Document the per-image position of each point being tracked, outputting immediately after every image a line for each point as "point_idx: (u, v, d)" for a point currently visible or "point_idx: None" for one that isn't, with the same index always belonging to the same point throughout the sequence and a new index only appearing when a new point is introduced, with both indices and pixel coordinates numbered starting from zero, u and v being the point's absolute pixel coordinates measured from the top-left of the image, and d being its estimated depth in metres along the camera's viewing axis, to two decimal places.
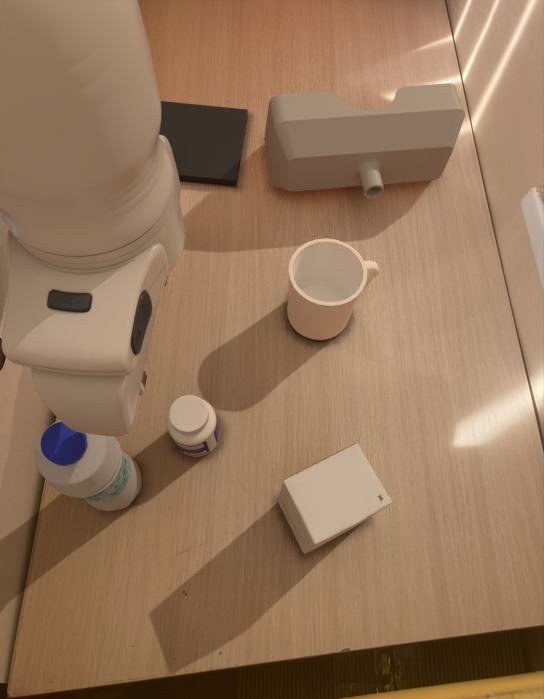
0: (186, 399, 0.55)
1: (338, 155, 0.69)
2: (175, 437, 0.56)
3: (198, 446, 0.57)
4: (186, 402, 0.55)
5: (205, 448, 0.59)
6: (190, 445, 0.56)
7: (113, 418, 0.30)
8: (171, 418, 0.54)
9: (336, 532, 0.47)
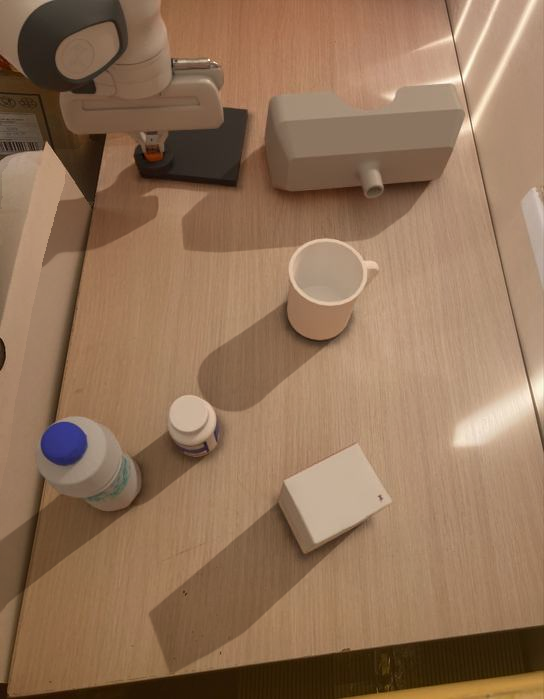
0: (186, 399, 0.55)
1: (338, 155, 0.69)
2: (175, 437, 0.56)
3: (198, 446, 0.57)
4: (186, 402, 0.55)
5: (205, 448, 0.59)
6: (190, 445, 0.56)
7: (61, 109, 0.66)
8: (171, 418, 0.54)
9: (336, 532, 0.47)
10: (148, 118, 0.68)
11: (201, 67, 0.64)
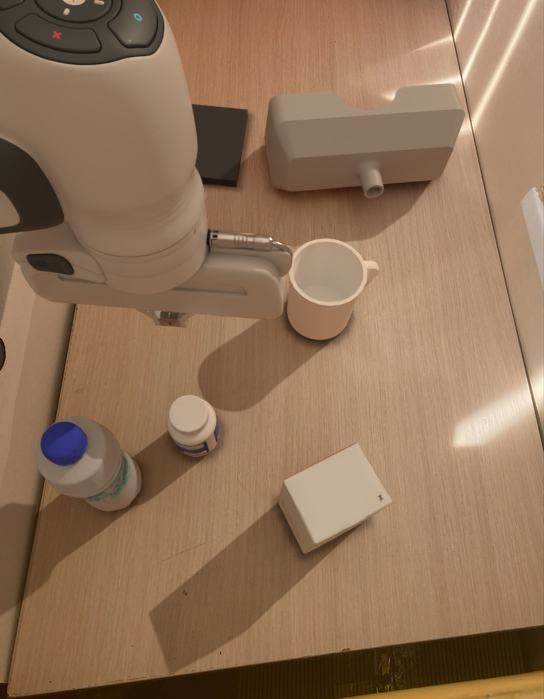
0: (186, 399, 0.55)
1: (338, 155, 0.69)
2: (175, 437, 0.56)
3: (198, 446, 0.57)
4: (186, 402, 0.55)
5: (205, 448, 0.59)
6: (190, 445, 0.56)
7: None
8: (171, 418, 0.54)
9: (336, 532, 0.47)
10: (163, 299, 0.42)
11: (256, 249, 0.37)
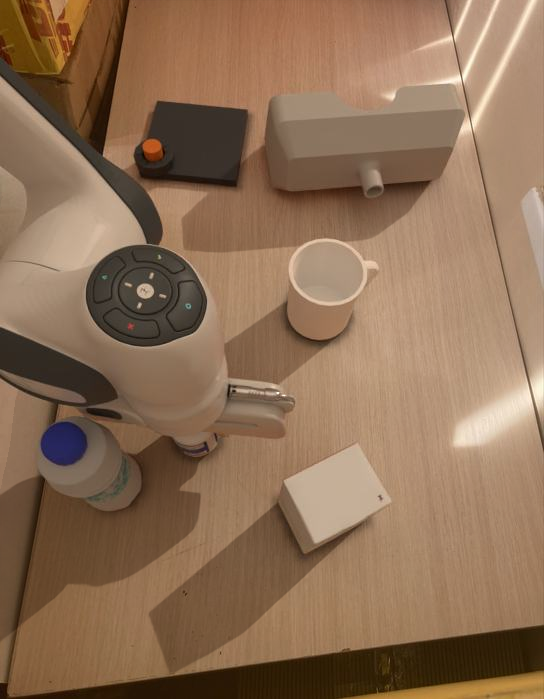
0: None
1: (338, 155, 0.69)
2: (175, 437, 0.56)
3: (198, 446, 0.57)
4: None
5: (205, 448, 0.59)
6: (190, 445, 0.56)
7: None
8: None
9: (336, 532, 0.47)
10: None
11: (266, 400, 0.47)
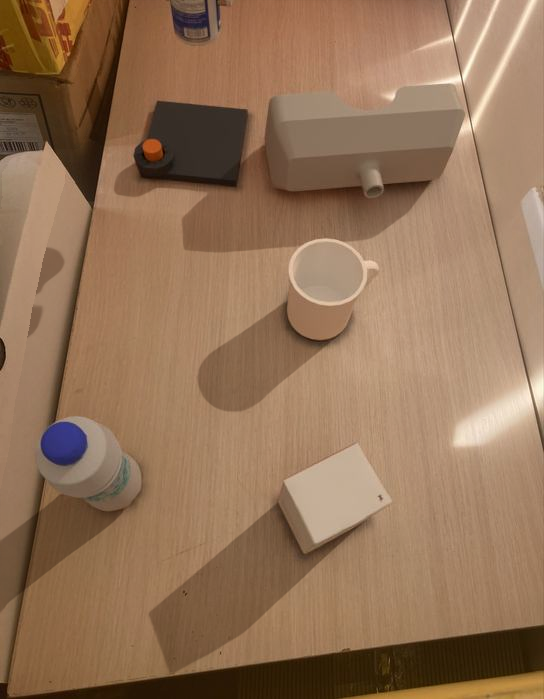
0: None
1: (338, 155, 0.69)
2: None
3: (199, 3, 0.55)
4: None
5: (206, 21, 0.57)
6: None
7: None
8: None
9: (336, 532, 0.47)
10: None
11: None
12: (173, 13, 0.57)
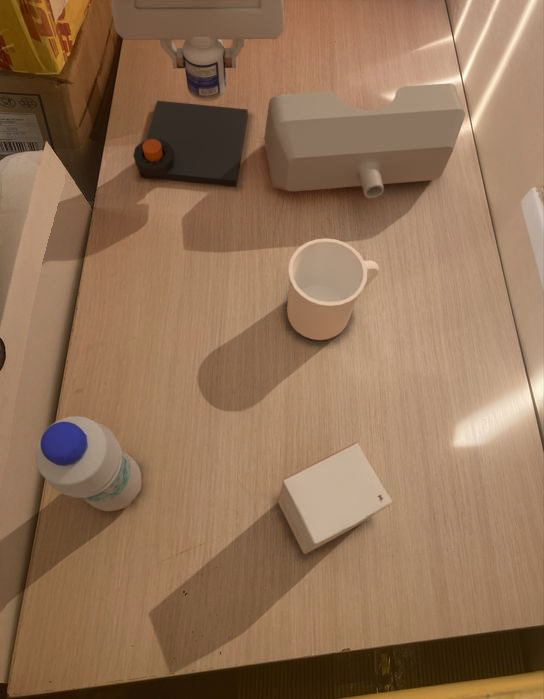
0: None
1: (338, 155, 0.69)
2: (192, 57, 0.67)
3: (212, 69, 0.68)
4: None
5: (217, 81, 0.70)
6: (205, 64, 0.67)
7: (112, 7, 0.61)
8: None
9: (336, 532, 0.47)
10: (204, 22, 0.63)
11: None
12: (189, 78, 0.70)
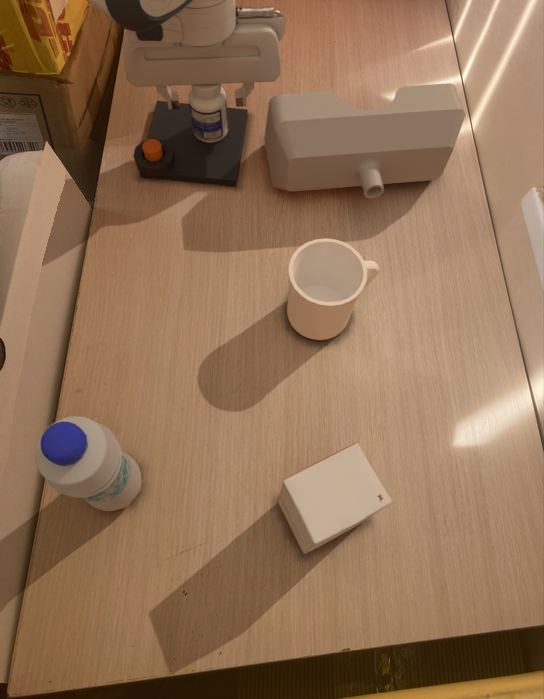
0: None
1: (338, 155, 0.69)
2: (198, 106, 0.73)
3: (216, 115, 0.75)
4: None
5: (220, 125, 0.77)
6: (210, 112, 0.74)
7: (124, 59, 0.67)
8: None
9: (336, 532, 0.47)
10: (208, 69, 0.69)
11: (264, 16, 0.65)
12: (194, 123, 0.77)
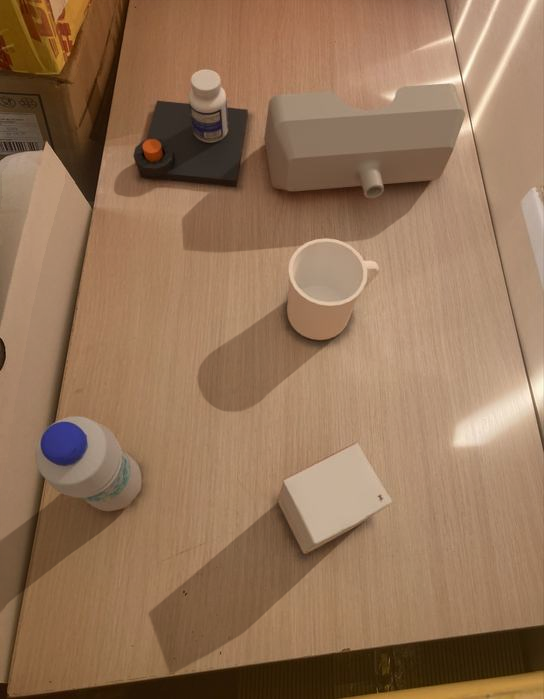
0: (201, 72, 0.73)
1: (338, 155, 0.69)
2: (198, 106, 0.73)
3: (216, 116, 0.75)
4: (202, 73, 0.73)
5: (220, 125, 0.77)
6: (210, 112, 0.74)
7: None
8: (193, 84, 0.72)
9: (336, 532, 0.47)
10: None
11: None
12: (194, 123, 0.77)
